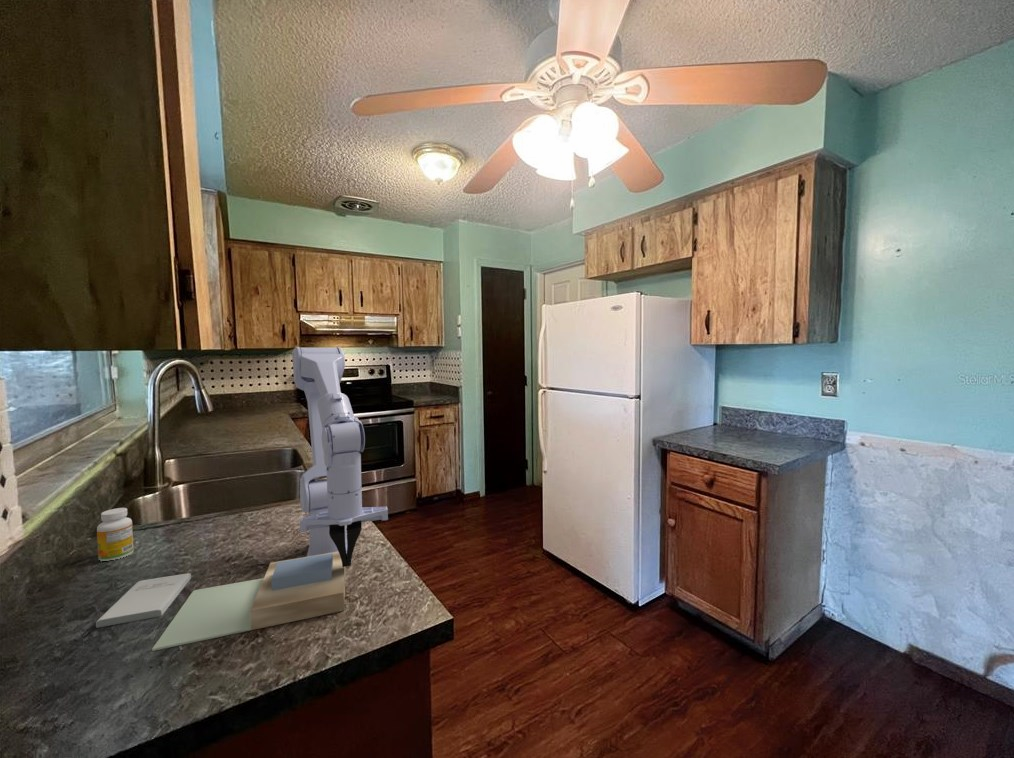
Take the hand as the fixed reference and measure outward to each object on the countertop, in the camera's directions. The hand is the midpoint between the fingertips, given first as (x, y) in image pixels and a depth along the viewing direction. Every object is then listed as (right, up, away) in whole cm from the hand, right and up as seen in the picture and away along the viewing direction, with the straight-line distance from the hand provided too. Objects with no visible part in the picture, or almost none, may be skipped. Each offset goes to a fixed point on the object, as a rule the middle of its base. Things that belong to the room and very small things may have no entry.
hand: (346, 563), depth 73 cm
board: (-6, -4, -2) cm, 8 cm away
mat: (-18, -4, -7) cm, 20 cm away
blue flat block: (-6, -1, -2) cm, 7 cm away
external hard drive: (-32, -5, -4) cm, 33 cm away
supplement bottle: (-54, -4, +13) cm, 56 cm away
